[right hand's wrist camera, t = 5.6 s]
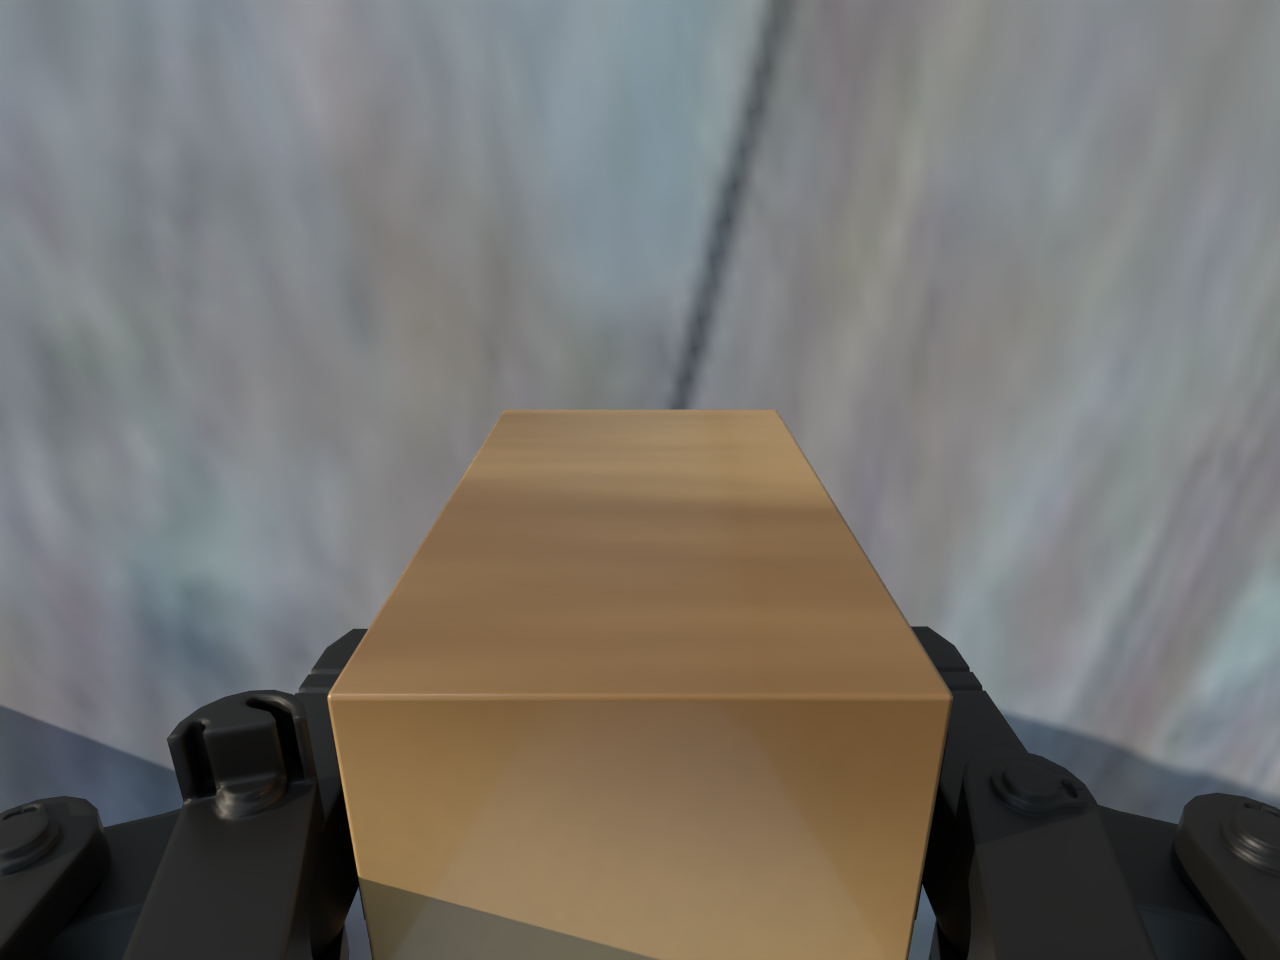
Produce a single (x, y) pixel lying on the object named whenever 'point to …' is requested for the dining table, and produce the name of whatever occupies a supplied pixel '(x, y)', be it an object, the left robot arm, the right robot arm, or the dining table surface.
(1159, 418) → the dining table surface
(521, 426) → the bar
